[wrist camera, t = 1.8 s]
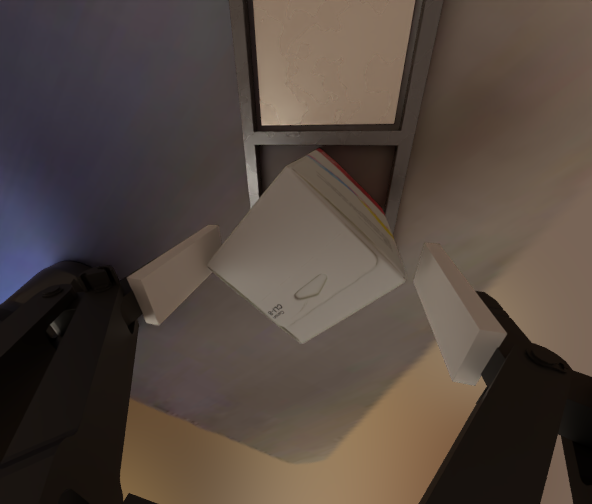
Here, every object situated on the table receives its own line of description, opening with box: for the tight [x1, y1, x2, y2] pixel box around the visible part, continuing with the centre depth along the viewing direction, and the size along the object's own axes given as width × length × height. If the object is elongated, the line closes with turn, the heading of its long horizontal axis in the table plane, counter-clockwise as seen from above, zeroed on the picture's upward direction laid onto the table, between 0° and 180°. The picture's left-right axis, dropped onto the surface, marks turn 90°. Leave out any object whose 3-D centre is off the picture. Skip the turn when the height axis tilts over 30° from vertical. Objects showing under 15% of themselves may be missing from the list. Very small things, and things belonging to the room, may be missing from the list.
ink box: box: [207, 148, 407, 344], centre depth 17 cm, size 9×9×12 cm
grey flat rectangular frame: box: [229, 0, 443, 235], centre depth 19 cm, size 14×27×1 cm, turn 0°
